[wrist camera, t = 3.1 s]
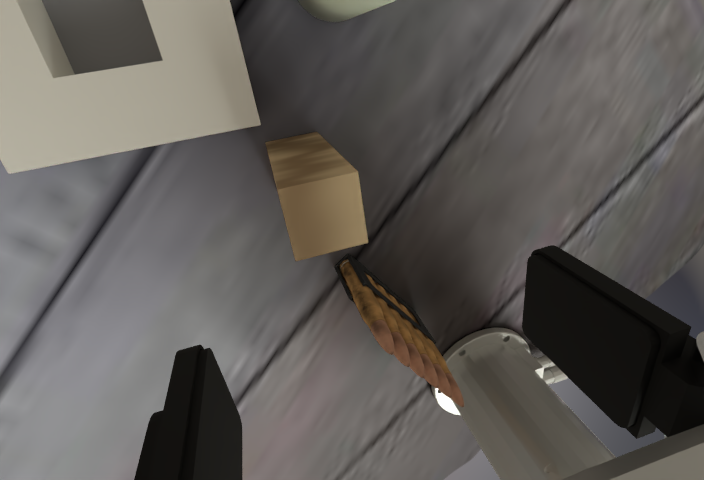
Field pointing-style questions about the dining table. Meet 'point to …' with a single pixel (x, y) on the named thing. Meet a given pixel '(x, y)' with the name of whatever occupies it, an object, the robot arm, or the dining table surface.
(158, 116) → the socket block
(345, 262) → the ammunition clip
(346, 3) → the pale green rounded piece
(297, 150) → the square peg
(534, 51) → the dining table surface
